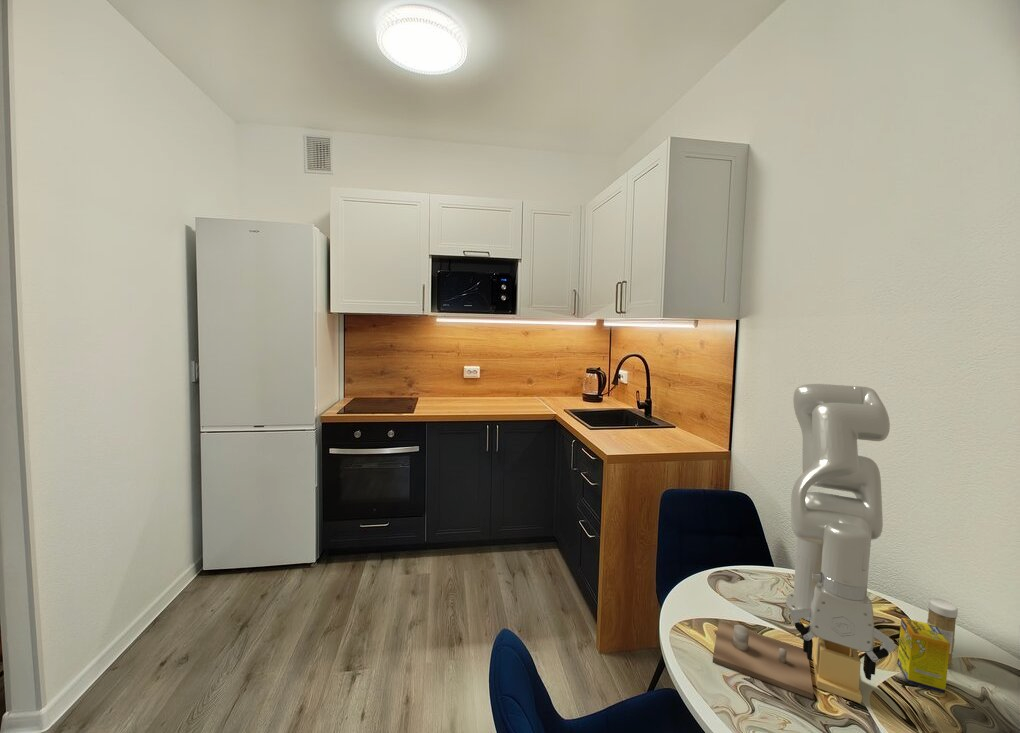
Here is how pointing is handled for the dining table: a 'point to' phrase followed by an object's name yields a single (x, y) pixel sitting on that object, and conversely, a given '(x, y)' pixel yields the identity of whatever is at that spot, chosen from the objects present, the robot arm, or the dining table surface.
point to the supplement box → (923, 655)
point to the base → (763, 658)
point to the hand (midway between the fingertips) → (837, 665)
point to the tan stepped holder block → (837, 669)
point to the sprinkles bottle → (943, 620)
